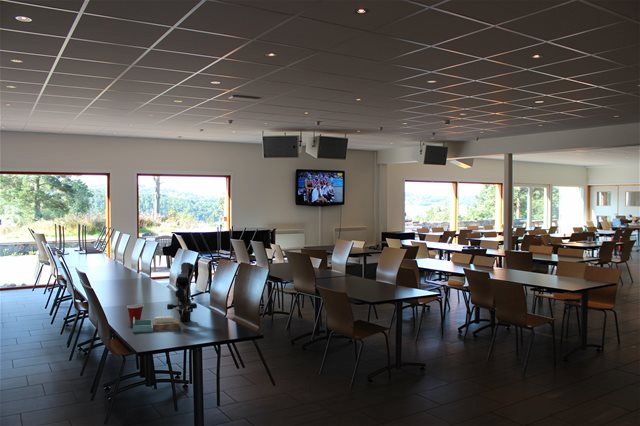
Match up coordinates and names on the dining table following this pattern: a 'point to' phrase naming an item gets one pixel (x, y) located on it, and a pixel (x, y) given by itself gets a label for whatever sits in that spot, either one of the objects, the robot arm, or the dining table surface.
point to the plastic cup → (135, 311)
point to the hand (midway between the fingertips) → (181, 319)
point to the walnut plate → (166, 325)
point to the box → (142, 325)
